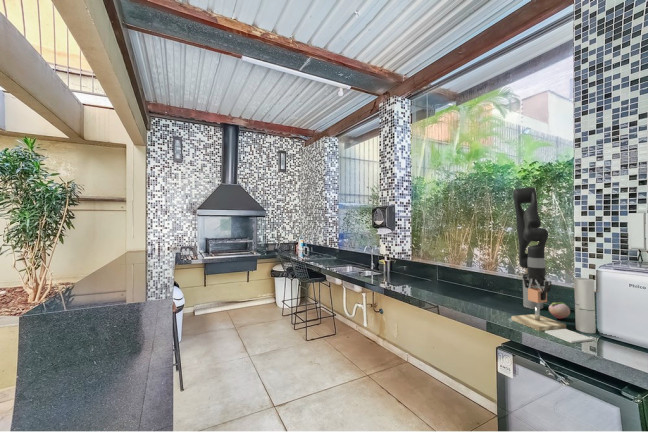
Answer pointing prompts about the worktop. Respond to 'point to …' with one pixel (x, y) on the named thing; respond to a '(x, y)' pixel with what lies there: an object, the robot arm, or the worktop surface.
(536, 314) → the post
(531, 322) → the stand base
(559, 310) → the decorative fruit
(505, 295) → the worktop surface
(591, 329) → the cylindrical container
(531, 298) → the collar
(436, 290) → the worktop surface
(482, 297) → the worktop surface
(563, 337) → the pad
